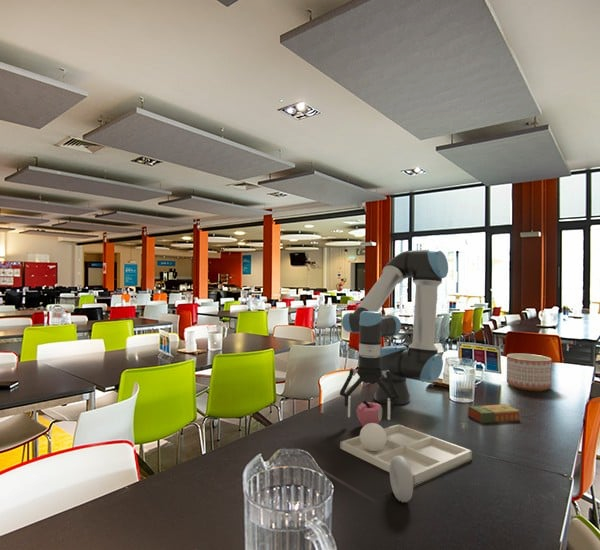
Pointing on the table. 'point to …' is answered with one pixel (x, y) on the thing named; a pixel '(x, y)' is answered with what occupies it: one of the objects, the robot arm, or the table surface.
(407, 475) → the white thick disc
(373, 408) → the apple
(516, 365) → the planter
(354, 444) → the tray
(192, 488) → the table surface
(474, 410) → the carton
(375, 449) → the white ball
